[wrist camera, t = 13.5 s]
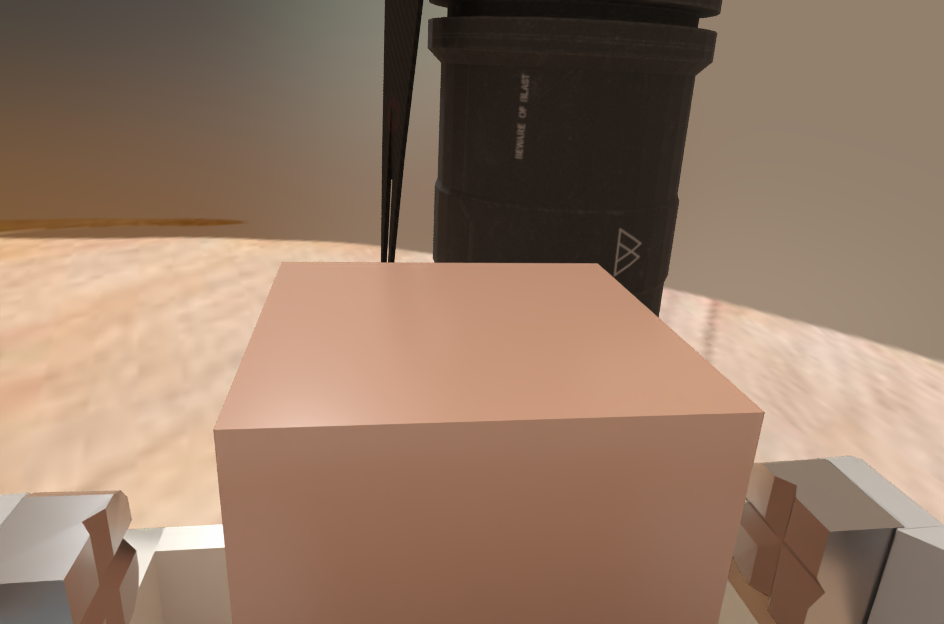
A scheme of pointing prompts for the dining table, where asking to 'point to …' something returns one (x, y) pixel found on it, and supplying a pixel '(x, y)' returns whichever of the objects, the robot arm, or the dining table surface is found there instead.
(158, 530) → the box
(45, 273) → the dining table surface
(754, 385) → the dining table surface
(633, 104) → the grenade
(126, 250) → the dining table surface
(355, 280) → the tall salmon pillar
